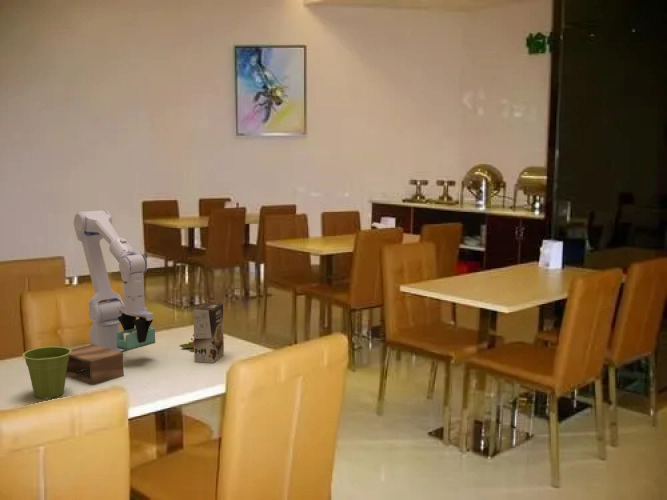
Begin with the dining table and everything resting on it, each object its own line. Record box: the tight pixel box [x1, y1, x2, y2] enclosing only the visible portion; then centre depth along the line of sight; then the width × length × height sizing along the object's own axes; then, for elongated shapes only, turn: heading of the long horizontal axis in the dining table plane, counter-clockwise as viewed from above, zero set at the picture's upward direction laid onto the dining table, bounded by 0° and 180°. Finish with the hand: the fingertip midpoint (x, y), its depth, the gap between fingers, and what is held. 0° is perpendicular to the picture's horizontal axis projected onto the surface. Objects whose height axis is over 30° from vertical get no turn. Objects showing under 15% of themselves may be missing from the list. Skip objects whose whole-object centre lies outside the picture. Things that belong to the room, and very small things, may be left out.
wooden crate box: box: [66, 343, 125, 386], centre depth 207 cm, size 14×10×7 cm
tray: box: [116, 326, 156, 352], centre depth 218 cm, size 5×10×4 cm, turn 143°
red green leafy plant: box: [180, 333, 194, 353], centre depth 235 cm, size 12×12×5 cm
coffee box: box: [193, 302, 225, 364], centre depth 222 cm, size 9×6×16 cm
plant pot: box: [22, 346, 72, 399], centre depth 191 cm, size 12×12×11 cm
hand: (136, 340), depth 218 cm, fingers closed on tray, 5 cm apart
